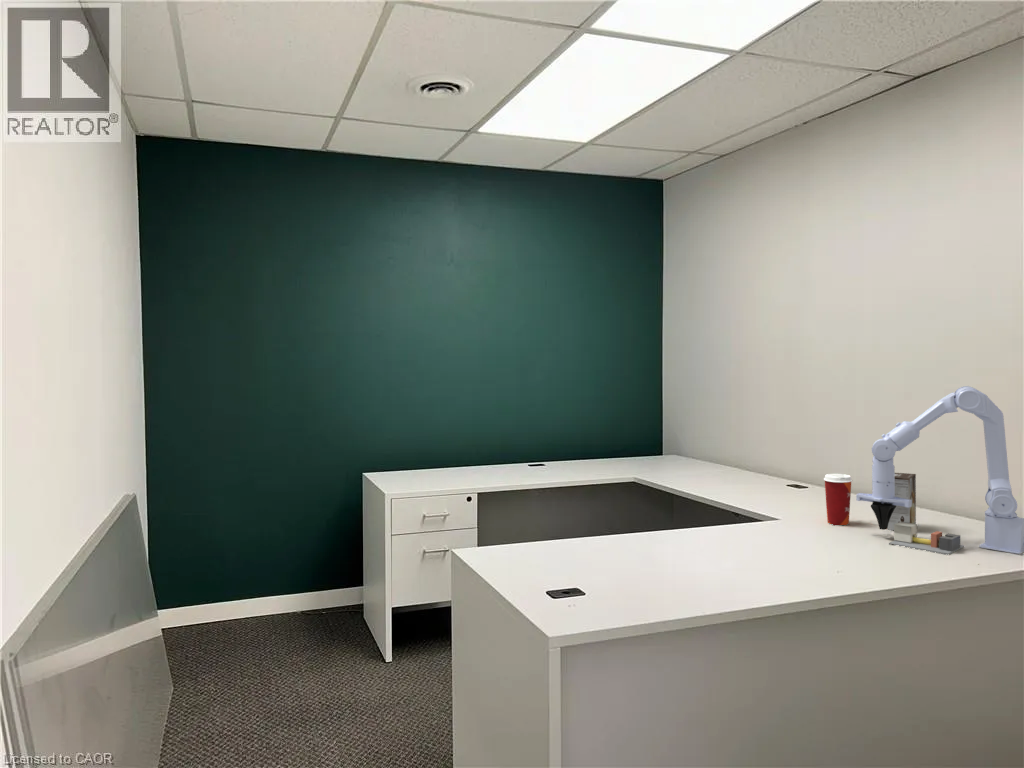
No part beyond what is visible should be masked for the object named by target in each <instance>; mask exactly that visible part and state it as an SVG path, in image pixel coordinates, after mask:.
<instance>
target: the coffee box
mask: <svg viewBox="0 0 1024 768" xmlns="http://www.w3.org/2000/svg"><path fill="white" fill-rule="evenodd" d="M916 476H917V474H916V473H909V472H908V473H907V472H906V473H903V472H895V497H899V498H904V499H909V500H912V507H909V508H907V507H904V506H897V505H896V508H895V509H894V511H893V513H892V515H891V517H890V520H889V523H888V528H887V529H886V530H887V531H892V530H894V524H896V523H899V522H906V523H912V524H917V507H916V506H917V503H916V502H917V500H916V499H917V494H916V493H917V490H916V489H917V487H916V486H917V485H916V484H917V483H916V479H917V478H916Z"/></svg>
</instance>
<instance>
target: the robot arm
mask: <svg viewBox="0 0 1024 768" xmlns="http://www.w3.org/2000/svg"><path fill="white" fill-rule="evenodd" d="M957 408H959V409H960V410H962V411H964V412H967V413H969V414H973V415H974V416H976V417H977V418H978V419H980V420H981V421H982V424H983V425H982V426H983V435H984V445H985V457H986V467H987V477H988V479H987V487H988V488H987V491H986V493H985V496H984V501H985V503H986V504H987V506H988V508H987V509H986V510H985V511H984V542H983V543H981V544H979V545H978V547H979V548H981V549H988V550H993V551H1000V552H1006V553H1011V554H1016V555H1017V554H1018V555H1020V554H1022V553H1024V518H1023V517H1019V516H1018V513H1017V512H1016V511H1017V510H1018V501H1017V499H1016V498H1015V497H1014V495H1013V493H1012V491H1013V490H1012V486H1011V485H1012V484H1011V481H1010V475H1009V463H1008V451H1007V441H1006V429H1005V418H1004V413H1003V411H1002V410H1001V409H1000V408H999V407H998V406H997V405H996V404H995V403H994V401H993V400H991V398H990V397H989V396H988V395H987V394H986V393H984V392H982V391H980V390H978V389H977V388H975V387H973V386H969V385H967V386H960V387H958V388H957V389H956V390H955V391H954V392H950V393H949V394H947V395H945V396H944V397H941V398H940V399H938V401H936V402H935V403H934V404H932V405H931V406H930V407H929V408H927V409H926V410H925V411H924V412H922V413H921V414H920V415H919V416H917V417H916V418H915V419H913V420H912V421H908V420H904V421H902V422H900V421H898V422H897V423H896V424H895V427H894V428H893V429H891V430H890V431H888V432H887V433H886V434H885V433H882V435H881V438H879V439H876V440H875V441H874V442H873V443H872V447H871V453H872V455H873V457H872V465H871V470H872V472H871V481H872V482H871V486H872V487H871V488H872V489H871V491H872V493H862V492H861V493H860V492H859V493H856V496H855V497H856V501H858V502H870V503H871V504H870V508H871V509H872V512H873V513H874V516H875V517H876V520H877V523H878V528H879V530H882V531H883V530H888V529H887V528H888V523H889V520H890V517H891V515H892V513H893V511H894V509H895V508H896V505H897V506H904V507H907V508H909V507H912V500H909V499H904V498H899V497H895V473H896V472H895V470H896V469H895V468H896V467H895V464H894V457H895V455H896V452H901V451H902V450H903V449H904V448H906V447H907V446H909V445H910V444H912V443H913V442H915V440H917V439H919V438H920V431H921V430H923V429H924V428H925V427H927V426H928V425H931V424H932V423H933V422H935V421H936V420H937V419H939V418H940V417H942V416H944V415H945V414H949V413H951V414H952V413H958V412H959V410H958V409H957Z"/></svg>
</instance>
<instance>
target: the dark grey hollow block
mask: <svg viewBox="0 0 1024 768" xmlns="http://www.w3.org/2000/svg"><path fill="white" fill-rule="evenodd" d="M960 545H961V534H955V533H949V532H948V533H946V534H944V535H942V537H939V549H940V550H946V551H951V552H952V551H954V550H956V549H958V548H960Z"/></svg>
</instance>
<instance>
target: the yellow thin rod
mask: <svg viewBox="0 0 1024 768" xmlns="http://www.w3.org/2000/svg"><path fill="white" fill-rule="evenodd" d="M912 542H916V543H922V544H928V545H931V539H929V538H923V537H922V538H921V537H918V536H917V537H912ZM938 545H939V543H938Z"/></svg>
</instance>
